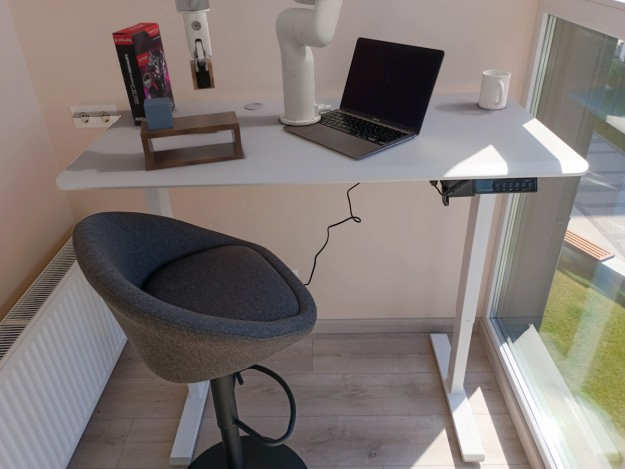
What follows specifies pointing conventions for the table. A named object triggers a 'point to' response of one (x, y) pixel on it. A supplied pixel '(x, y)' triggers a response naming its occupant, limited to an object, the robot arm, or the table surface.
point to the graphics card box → (142, 66)
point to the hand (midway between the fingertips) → (203, 84)
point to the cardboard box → (193, 69)
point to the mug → (494, 89)
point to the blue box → (158, 113)
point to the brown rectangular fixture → (198, 152)
